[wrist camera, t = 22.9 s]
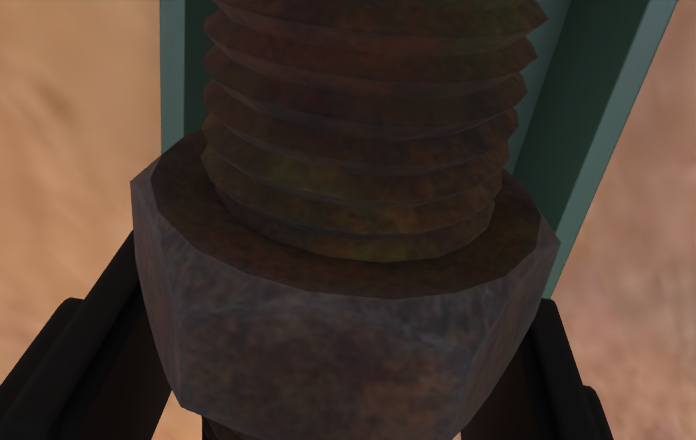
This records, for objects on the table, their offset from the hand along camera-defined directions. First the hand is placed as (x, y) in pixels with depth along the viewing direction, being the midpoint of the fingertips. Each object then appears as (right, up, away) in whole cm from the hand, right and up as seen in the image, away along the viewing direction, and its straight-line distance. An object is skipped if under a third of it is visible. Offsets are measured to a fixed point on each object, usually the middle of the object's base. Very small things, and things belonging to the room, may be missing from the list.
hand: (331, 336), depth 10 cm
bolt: (0, 0, +1) cm, 1 cm away
